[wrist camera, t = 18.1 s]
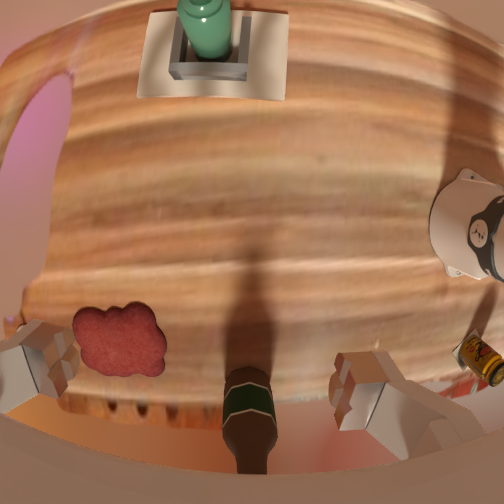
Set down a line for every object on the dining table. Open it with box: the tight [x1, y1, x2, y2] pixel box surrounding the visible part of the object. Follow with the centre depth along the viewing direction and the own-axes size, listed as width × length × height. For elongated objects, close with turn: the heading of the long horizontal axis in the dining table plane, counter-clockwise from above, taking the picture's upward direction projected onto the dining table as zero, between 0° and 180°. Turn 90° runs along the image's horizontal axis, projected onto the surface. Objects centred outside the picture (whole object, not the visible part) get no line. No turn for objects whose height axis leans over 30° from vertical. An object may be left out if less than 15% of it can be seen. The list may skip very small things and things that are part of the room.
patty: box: [72, 304, 167, 377], centre depth 46 cm, size 17×14×2 cm
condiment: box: [452, 328, 504, 387], centre depth 45 cm, size 7×8×12 cm
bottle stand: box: [137, 10, 289, 102], centre depth 33 cm, size 20×14×5 cm
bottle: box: [177, 0, 233, 63], centre depth 25 cm, size 5×5×20 cm
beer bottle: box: [222, 367, 278, 475], centre depth 37 cm, size 8×8×24 cm
